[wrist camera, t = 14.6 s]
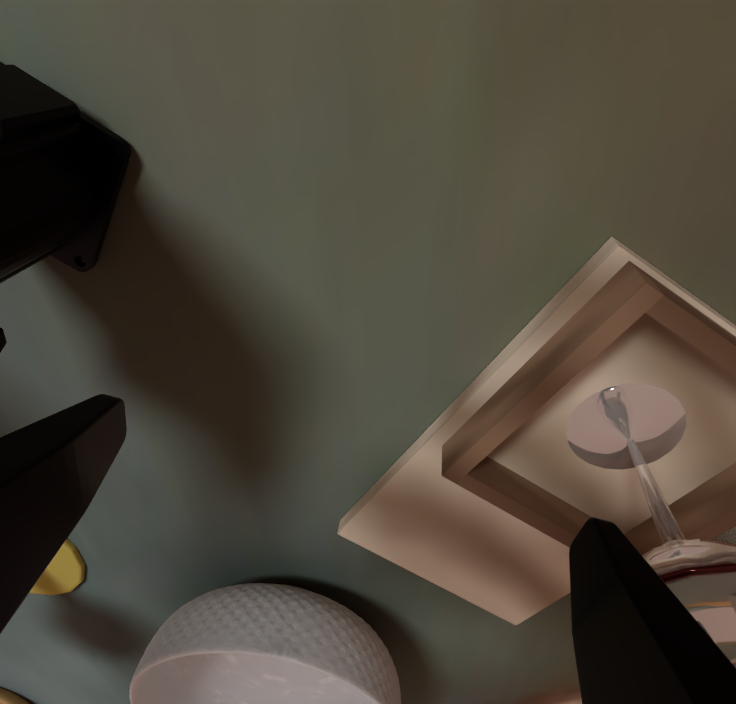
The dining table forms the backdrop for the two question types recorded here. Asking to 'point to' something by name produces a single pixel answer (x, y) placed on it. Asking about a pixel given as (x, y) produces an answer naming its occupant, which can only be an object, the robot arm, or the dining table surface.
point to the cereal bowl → (265, 652)
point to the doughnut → (11, 697)
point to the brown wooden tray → (561, 444)
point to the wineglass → (660, 498)
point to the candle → (61, 572)
